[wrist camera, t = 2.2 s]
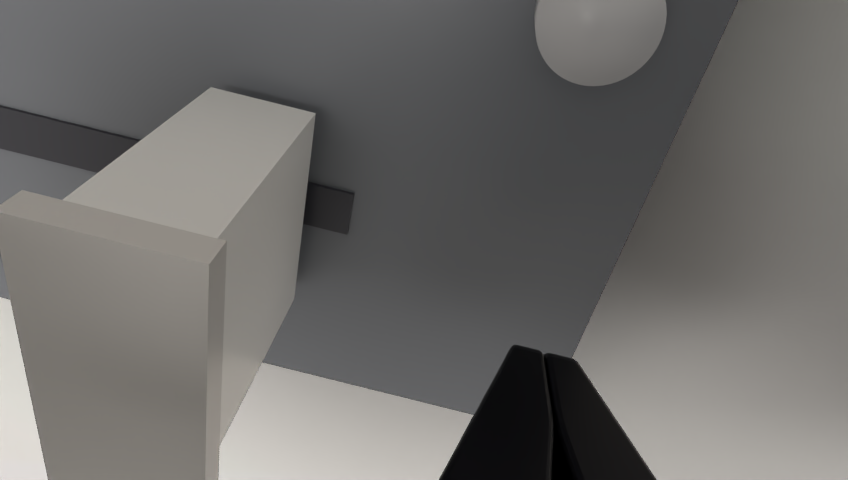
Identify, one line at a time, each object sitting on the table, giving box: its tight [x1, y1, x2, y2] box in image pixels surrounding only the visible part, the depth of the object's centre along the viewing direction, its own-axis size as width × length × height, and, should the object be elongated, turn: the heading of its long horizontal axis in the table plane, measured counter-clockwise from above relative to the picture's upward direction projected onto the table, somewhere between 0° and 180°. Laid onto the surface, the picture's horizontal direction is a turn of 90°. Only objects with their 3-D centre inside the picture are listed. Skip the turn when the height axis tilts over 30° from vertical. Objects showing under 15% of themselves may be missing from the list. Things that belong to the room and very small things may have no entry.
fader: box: [0, 87, 316, 480], centre depth 8 cm, size 2×4×4 cm, turn 168°
